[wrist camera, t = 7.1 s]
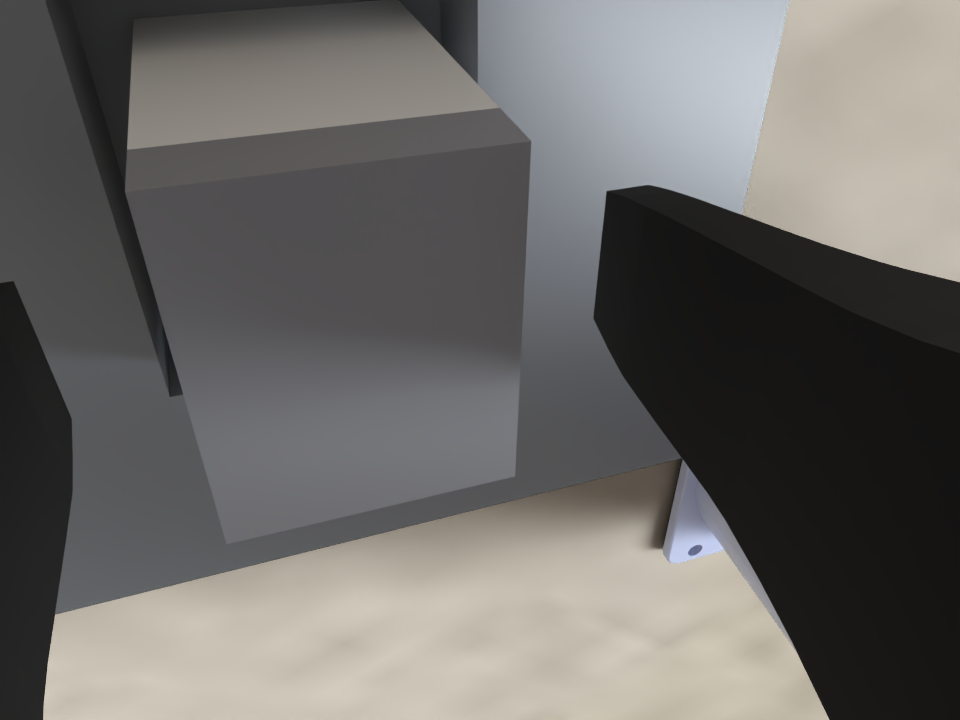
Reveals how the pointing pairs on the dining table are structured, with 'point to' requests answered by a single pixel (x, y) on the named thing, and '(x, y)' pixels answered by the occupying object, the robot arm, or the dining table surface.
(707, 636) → the dining table surface
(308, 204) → the grey rectangular block
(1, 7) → the socket plate
